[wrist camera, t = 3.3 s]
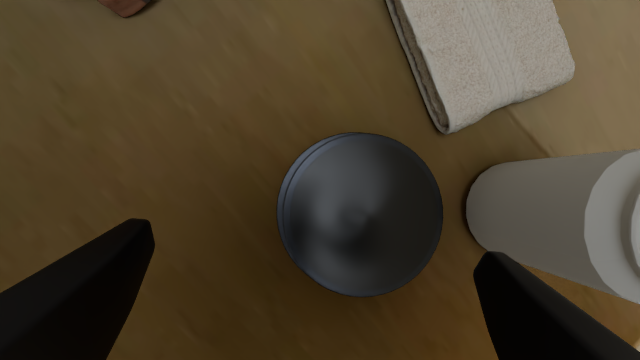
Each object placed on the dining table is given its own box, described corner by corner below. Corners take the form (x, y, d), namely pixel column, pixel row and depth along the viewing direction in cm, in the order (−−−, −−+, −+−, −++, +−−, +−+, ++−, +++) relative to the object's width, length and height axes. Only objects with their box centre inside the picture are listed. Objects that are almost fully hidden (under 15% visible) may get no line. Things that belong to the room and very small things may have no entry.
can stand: (442, 268, 24) (468, 281, 21) (295, 305, 23) (295, 326, 19) (412, 120, 24) (432, 109, 20) (262, 150, 23) (257, 144, 19)
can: (559, 230, 25) (806, 273, 13) (482, 270, 24) (668, 354, 12) (523, 148, 25) (741, 114, 13) (444, 186, 24) (596, 187, 12)
